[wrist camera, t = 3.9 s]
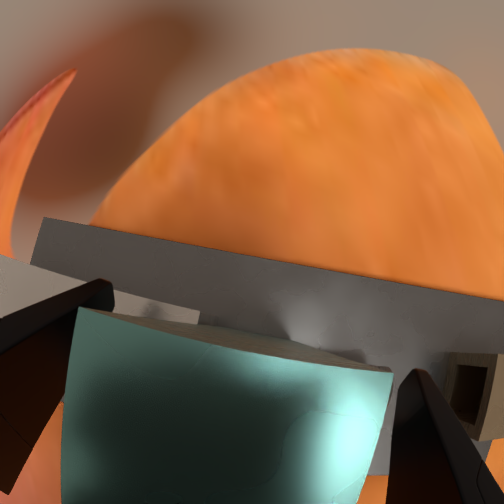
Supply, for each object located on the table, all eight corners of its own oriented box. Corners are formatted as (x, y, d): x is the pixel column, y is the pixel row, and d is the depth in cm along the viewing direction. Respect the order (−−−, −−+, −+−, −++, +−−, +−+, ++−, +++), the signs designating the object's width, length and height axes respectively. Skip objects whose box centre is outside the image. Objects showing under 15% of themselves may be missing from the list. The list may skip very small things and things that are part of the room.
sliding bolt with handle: (30, 327, 14) (-146, 294, 3) (41, 276, 15) (-130, 207, 4) (362, 413, 13) (535, 539, 1) (375, 352, 13) (596, 371, 2)
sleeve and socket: (21, 372, 15) (-36, 375, 10) (52, 222, 17) (2, 191, 12) (475, 460, 12) (523, 484, 7) (506, 305, 15) (562, 293, 10)
